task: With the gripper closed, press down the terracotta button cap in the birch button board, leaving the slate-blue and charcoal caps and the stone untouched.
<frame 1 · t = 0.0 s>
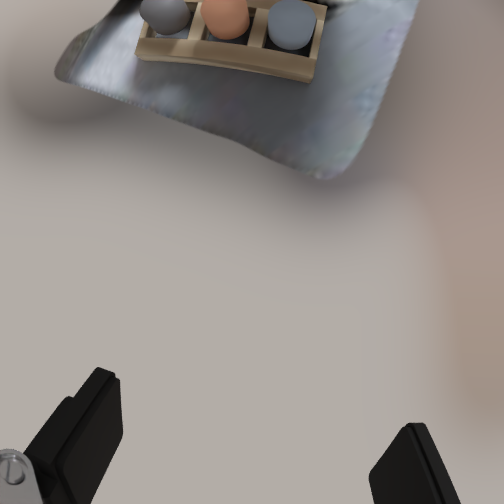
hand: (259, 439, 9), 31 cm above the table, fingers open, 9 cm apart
slate button: (291, 24, 27), point 5 cm above the table, slide at 0.0 cm
terracotta button: (226, 15, 27), point 5 cm above the table, slide at 0.0 cm
birch board: (231, 32, 32), on the table
charcoal button: (165, 11, 27), point 5 cm above the table, slide at 0.0 cm
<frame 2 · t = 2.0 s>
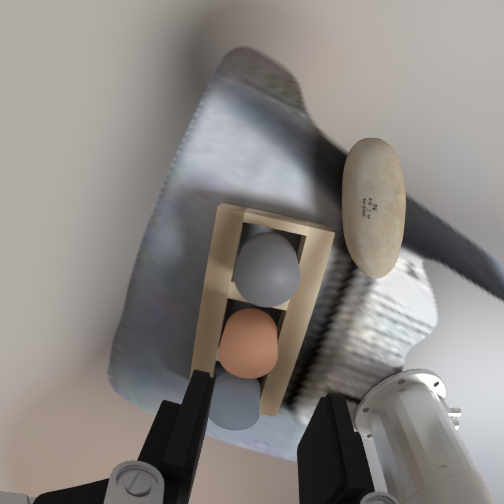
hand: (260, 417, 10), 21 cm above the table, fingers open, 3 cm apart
stone: (366, 204, 29), on the table
slate button: (235, 400, 29), point 5 cm above the table, slide at 0.0 cm
terracotta button: (249, 343, 27), point 5 cm above the table, slide at 0.0 cm
birch board: (252, 315, 32), on the table
charcoal button: (267, 268, 25), point 5 cm above the table, slide at 0.0 cm
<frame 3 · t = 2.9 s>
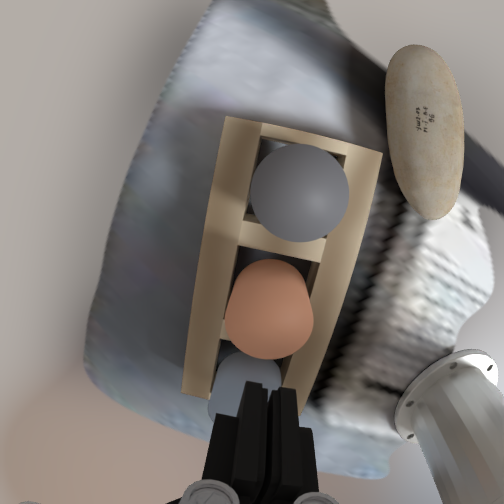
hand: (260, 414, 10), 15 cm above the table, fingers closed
stone: (412, 131, 21), on the table
slate button: (246, 393, 21), point 5 cm above the table, slide at 0.0 cm
terracotta button: (269, 307, 19), point 5 cm above the table, slide at 0.0 cm
birch board: (270, 277, 24), on the table
charcoal button: (297, 190, 17), point 5 cm above the table, slide at 0.0 cm
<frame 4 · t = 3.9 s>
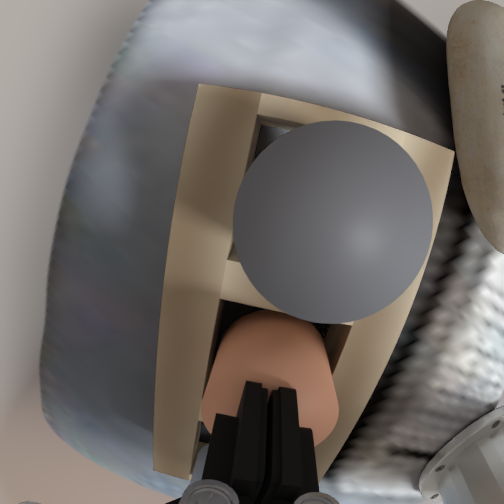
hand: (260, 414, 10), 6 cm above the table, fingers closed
stone: (477, 123, 13), on the table
slate button: (236, 492, 13), point 5 cm above the table, slide at 0.0 cm
terracotta button: (271, 384, 12), point 4 cm above the table, slide at 1.2 cm, touching gripper
birch board: (272, 333, 16), on the table
charcoal button: (326, 214, 9), point 5 cm above the table, slide at 0.0 cm
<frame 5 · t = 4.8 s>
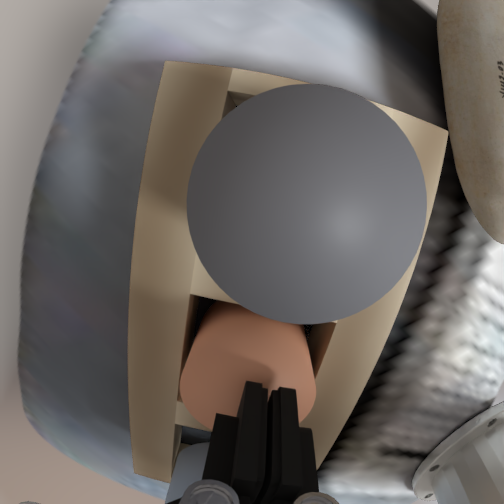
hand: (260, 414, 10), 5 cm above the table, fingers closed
stone: (470, 105, 12), on the table
slate button: (218, 498, 12), point 5 cm above the table, slide at 0.0 cm
terracotta button: (249, 364, 12), point 3 cm above the table, slide at 2.6 cm
birch board: (252, 330, 15), on the table
charcoal button: (302, 197, 8), point 5 cm above the table, slide at 0.0 cm
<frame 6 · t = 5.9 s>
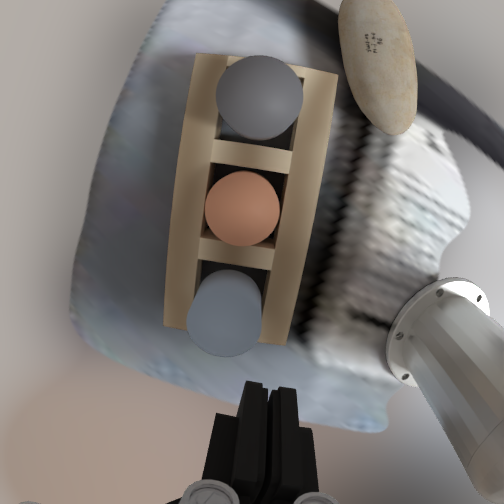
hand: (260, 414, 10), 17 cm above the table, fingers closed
stone: (369, 64, 22), on the table
slate button: (226, 312, 22), point 5 cm above the table, slide at 0.0 cm
terracotta button: (243, 205, 22), point 3 cm above the table, slide at 2.6 cm
birch board: (245, 200, 25), on the table
charcoal button: (259, 100, 18), point 5 cm above the table, slide at 0.0 cm
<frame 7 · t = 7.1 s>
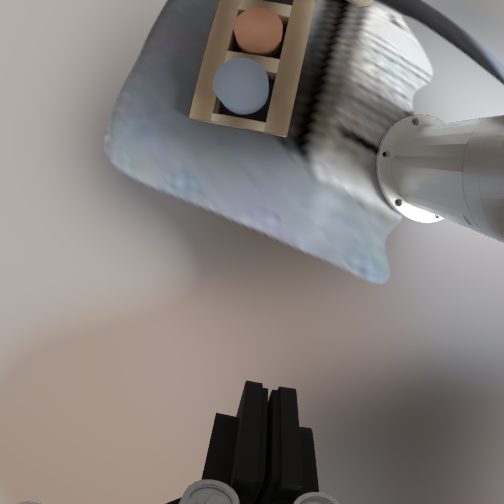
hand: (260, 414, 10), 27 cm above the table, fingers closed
slate button: (242, 87, 27), point 5 cm above the table, slide at 0.0 cm
terracotta button: (258, 33, 27), point 3 cm above the table, slide at 2.6 cm
birch board: (259, 42, 30), on the table
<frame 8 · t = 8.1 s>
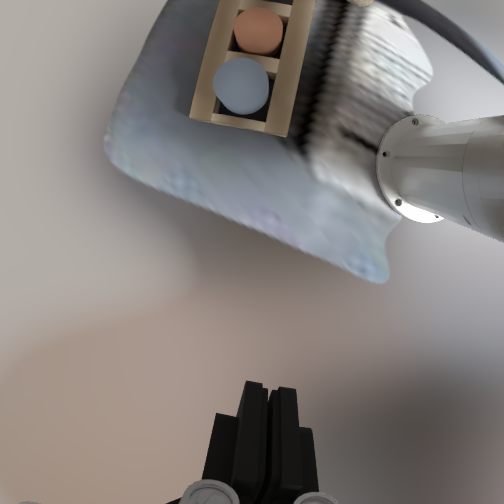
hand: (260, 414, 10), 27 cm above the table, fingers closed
slate button: (242, 87, 27), point 5 cm above the table, slide at 0.0 cm
terracotta button: (258, 33, 27), point 3 cm above the table, slide at 2.6 cm
birch board: (259, 42, 30), on the table
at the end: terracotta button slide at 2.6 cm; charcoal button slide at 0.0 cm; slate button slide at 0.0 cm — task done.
